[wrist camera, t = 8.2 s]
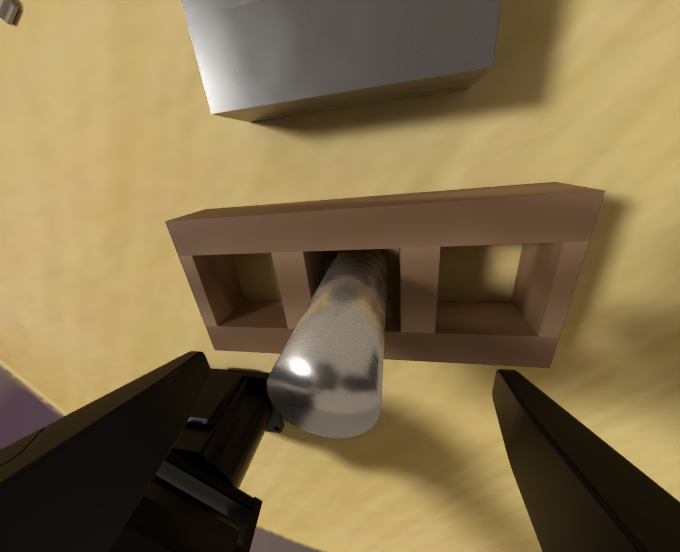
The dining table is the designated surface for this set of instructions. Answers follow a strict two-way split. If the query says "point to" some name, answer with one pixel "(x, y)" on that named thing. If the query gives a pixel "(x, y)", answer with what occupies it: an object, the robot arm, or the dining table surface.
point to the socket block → (336, 52)
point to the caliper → (8, 10)
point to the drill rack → (414, 267)
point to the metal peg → (336, 351)
